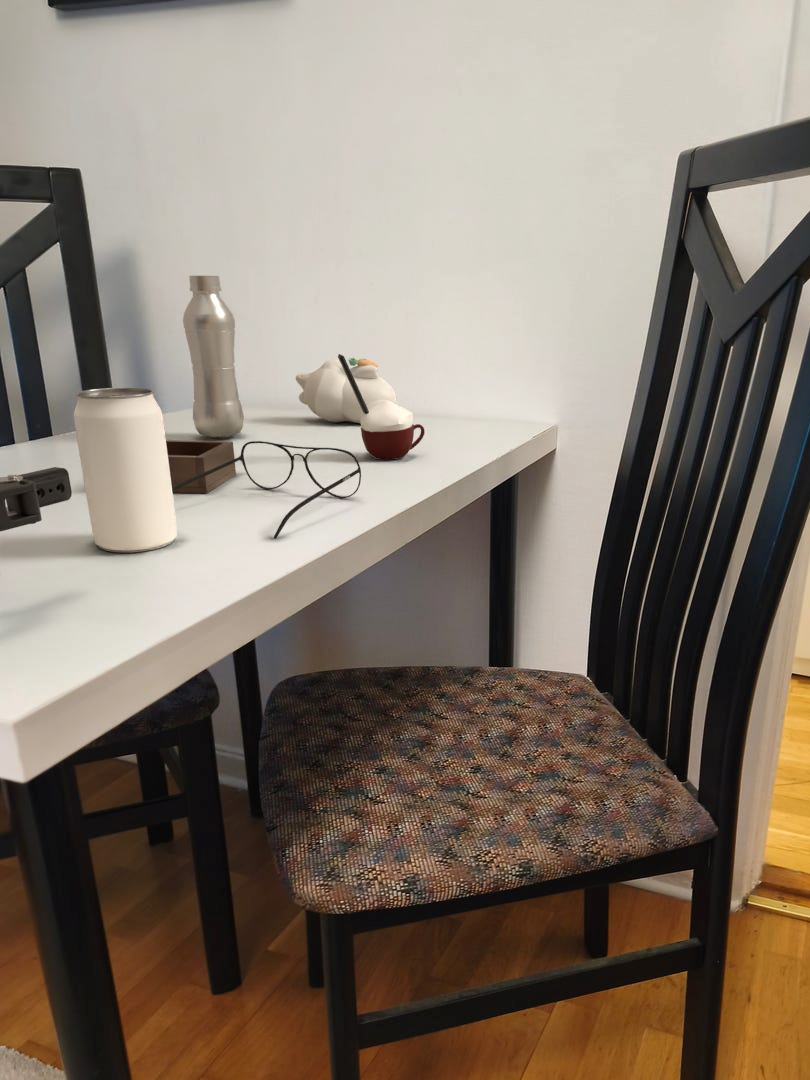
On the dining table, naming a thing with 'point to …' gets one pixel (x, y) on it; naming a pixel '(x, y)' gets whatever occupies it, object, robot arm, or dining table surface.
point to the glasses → (287, 478)
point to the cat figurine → (343, 390)
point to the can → (125, 469)
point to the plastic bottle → (212, 360)
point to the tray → (199, 463)
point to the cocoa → (384, 425)
